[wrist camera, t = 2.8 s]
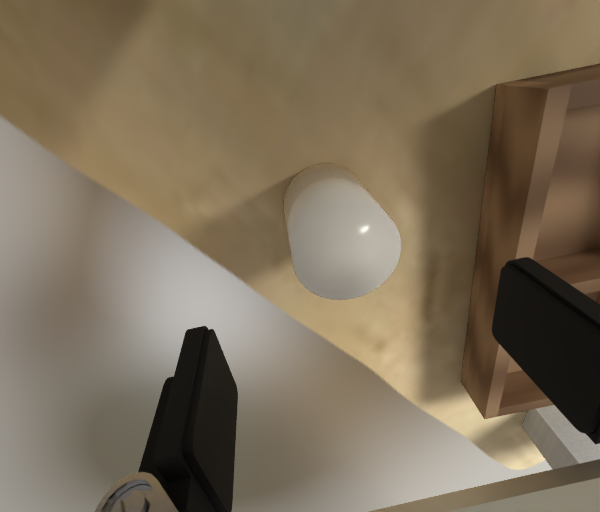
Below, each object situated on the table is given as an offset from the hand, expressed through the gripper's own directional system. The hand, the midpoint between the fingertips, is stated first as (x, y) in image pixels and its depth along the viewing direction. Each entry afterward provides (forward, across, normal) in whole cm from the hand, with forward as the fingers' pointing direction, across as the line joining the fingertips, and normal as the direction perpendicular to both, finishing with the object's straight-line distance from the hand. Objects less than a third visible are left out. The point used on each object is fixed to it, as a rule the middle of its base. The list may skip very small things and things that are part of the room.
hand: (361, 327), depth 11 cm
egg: (+10, -1, 0) cm, 10 cm away
